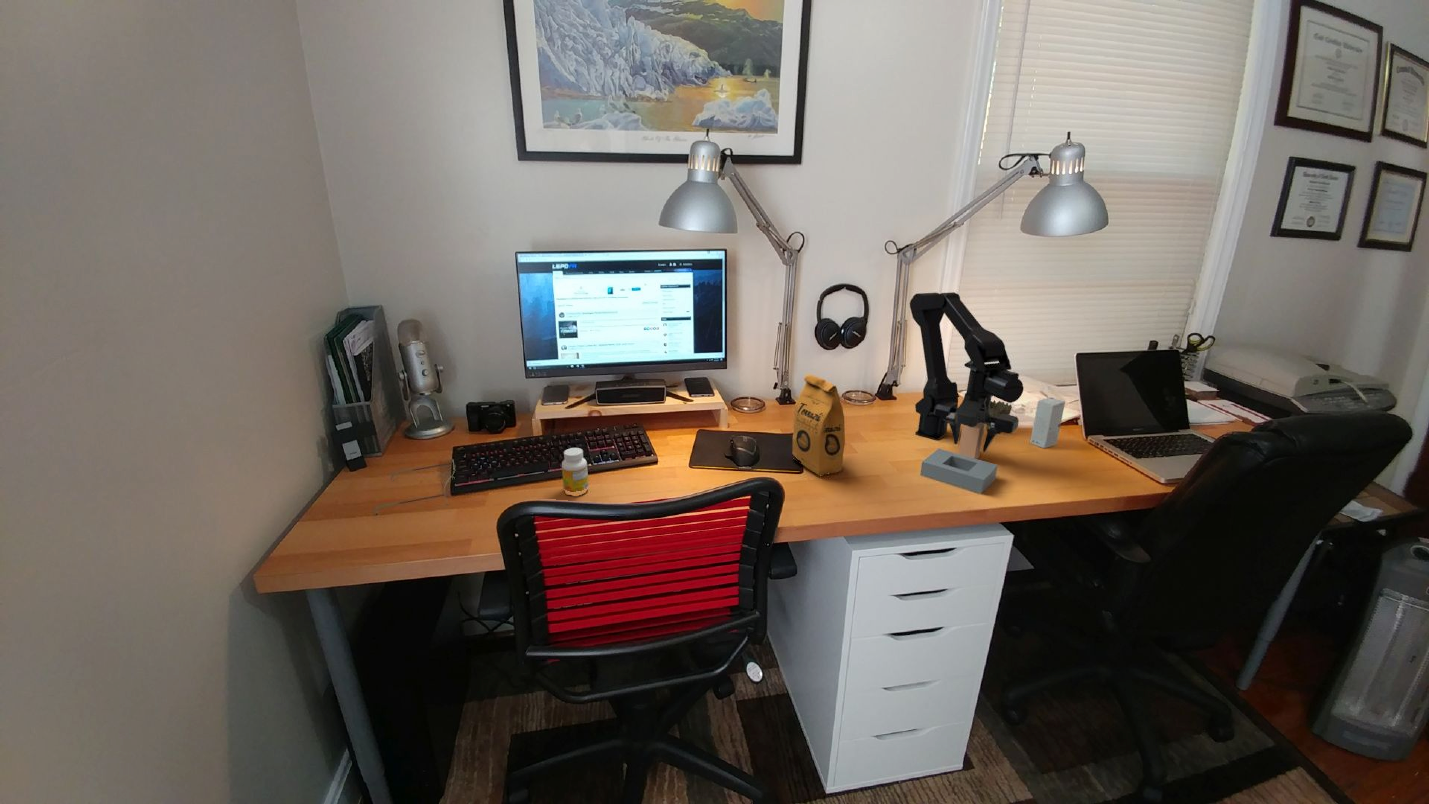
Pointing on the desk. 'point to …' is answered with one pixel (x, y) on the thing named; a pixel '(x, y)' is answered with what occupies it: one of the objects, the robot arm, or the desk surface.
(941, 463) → the socket block
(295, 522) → the desk surface
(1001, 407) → the cup
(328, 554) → the desk surface
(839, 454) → the coffee package
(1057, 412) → the skincare box
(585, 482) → the supplement bottle
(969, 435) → the terracotta peg
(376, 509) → the eyeglasses
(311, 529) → the desk surface
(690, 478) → the desk surface
